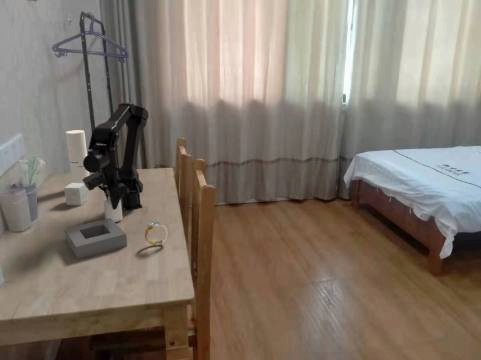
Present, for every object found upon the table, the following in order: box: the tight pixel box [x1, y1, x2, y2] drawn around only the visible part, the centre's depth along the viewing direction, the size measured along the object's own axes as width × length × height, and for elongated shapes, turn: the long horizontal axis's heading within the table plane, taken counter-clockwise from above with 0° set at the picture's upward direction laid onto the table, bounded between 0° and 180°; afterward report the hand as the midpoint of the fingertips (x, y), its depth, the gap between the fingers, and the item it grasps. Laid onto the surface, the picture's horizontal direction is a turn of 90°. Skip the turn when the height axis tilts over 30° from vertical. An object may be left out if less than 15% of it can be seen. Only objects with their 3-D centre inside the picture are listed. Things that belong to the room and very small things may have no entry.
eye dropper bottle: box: [103, 196, 123, 223], centre depth 136 cm, size 4×6×12 cm
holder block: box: [64, 218, 128, 260], centre depth 121 cm, size 14×14×4 cm
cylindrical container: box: [65, 129, 91, 191], centre depth 166 cm, size 7×7×25 cm
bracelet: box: [144, 220, 169, 247], centre depth 120 cm, size 7×3×8 cm, turn 103°
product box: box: [63, 182, 89, 206], centre depth 153 cm, size 6×6×7 cm
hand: (112, 207), depth 136 cm, fingers closed on eye dropper bottle, 3 cm apart
